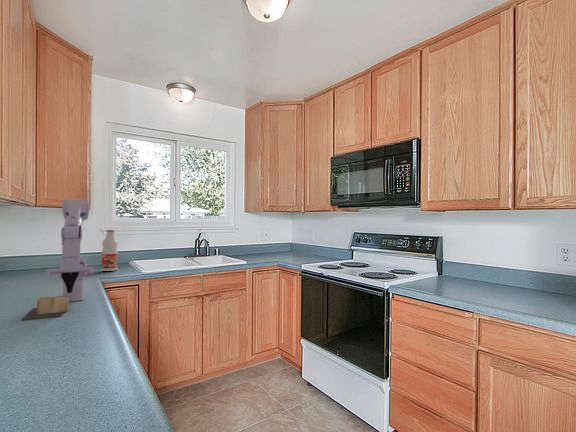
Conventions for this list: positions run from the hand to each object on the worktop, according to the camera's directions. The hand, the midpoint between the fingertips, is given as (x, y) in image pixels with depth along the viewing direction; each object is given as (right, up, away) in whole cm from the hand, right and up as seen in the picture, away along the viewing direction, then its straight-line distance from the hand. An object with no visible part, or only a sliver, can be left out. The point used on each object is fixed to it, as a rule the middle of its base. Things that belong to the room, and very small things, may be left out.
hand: (69, 292), depth 120 cm
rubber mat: (-6, -7, -3) cm, 10 cm away
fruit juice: (-37, -8, +92) cm, 100 cm away
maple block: (0, -4, 0) cm, 4 cm away
